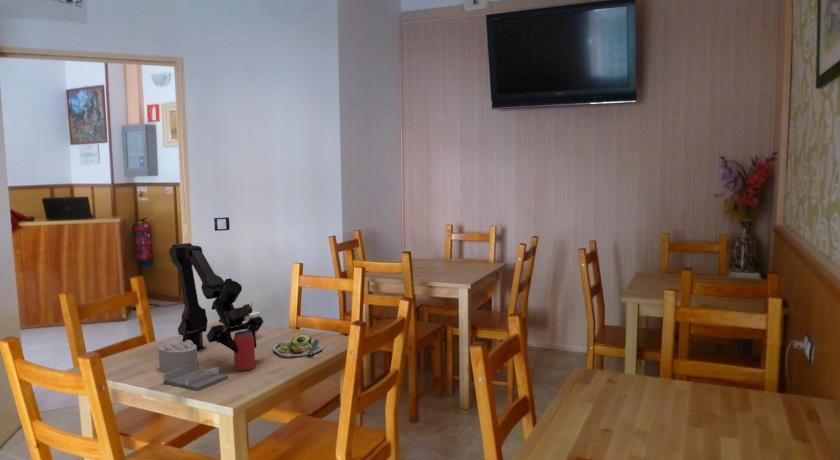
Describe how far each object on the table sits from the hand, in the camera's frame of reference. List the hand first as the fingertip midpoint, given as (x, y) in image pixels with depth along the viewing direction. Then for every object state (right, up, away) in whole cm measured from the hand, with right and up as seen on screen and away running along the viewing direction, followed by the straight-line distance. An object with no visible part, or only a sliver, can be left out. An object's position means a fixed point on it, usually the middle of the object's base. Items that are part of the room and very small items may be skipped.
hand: (246, 349), depth 203 cm
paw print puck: (-23, -7, +3) cm, 24 cm away
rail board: (-13, -8, -10) cm, 18 cm away
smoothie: (-9, -3, +40) cm, 41 cm away
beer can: (-1, -7, +2) cm, 7 cm away
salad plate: (+13, -5, +21) cm, 25 cm away
